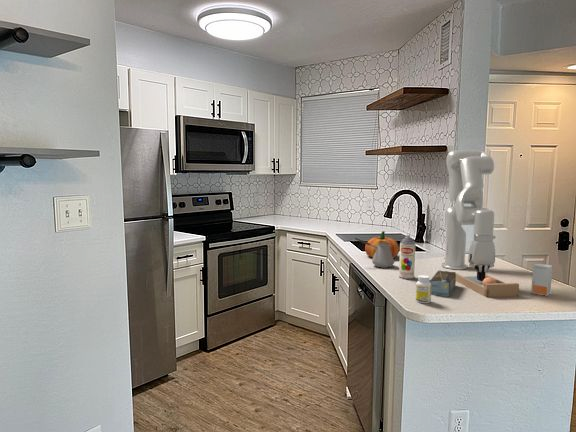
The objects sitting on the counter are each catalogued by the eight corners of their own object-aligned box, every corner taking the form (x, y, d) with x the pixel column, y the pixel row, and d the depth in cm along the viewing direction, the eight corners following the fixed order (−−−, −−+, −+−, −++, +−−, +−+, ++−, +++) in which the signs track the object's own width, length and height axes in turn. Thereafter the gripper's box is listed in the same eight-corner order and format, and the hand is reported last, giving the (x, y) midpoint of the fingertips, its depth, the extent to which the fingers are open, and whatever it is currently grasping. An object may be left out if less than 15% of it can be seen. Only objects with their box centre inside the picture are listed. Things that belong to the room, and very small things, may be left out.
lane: (453, 279, 189) (453, 268, 189) (480, 278, 190) (481, 268, 190) (486, 297, 162) (486, 284, 162) (518, 296, 164) (519, 284, 163)
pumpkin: (362, 259, 232) (363, 233, 230) (367, 253, 250) (367, 228, 248) (398, 262, 226) (398, 234, 224) (399, 255, 244) (400, 230, 242)
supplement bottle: (422, 298, 160) (423, 273, 159) (433, 302, 156) (434, 277, 154) (412, 300, 158) (413, 275, 157) (423, 304, 153) (424, 278, 152)
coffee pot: (391, 264, 220) (392, 236, 219) (396, 269, 209) (397, 239, 207) (351, 263, 221) (352, 235, 219) (354, 268, 210) (354, 239, 208)
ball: (486, 290, 169) (479, 287, 174) (498, 290, 169) (491, 288, 174) (487, 278, 169) (480, 276, 174) (498, 278, 169) (491, 276, 174)
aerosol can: (397, 278, 190) (399, 235, 188) (400, 275, 196) (401, 233, 194) (413, 280, 187) (414, 236, 185) (414, 276, 194) (416, 234, 192)
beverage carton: (428, 294, 166) (428, 278, 166) (436, 283, 183) (437, 269, 182) (449, 297, 162) (449, 281, 162) (456, 286, 179) (456, 271, 178)
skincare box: (530, 293, 168) (532, 264, 167) (533, 291, 171) (535, 263, 170) (547, 296, 164) (550, 267, 162) (550, 294, 166) (552, 265, 165)
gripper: (494, 237, 181) (492, 277, 183) (461, 237, 179) (459, 278, 181) (505, 239, 173) (502, 282, 175) (471, 240, 172) (468, 283, 174)
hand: (480, 280), depth 178 cm, fingers closed
